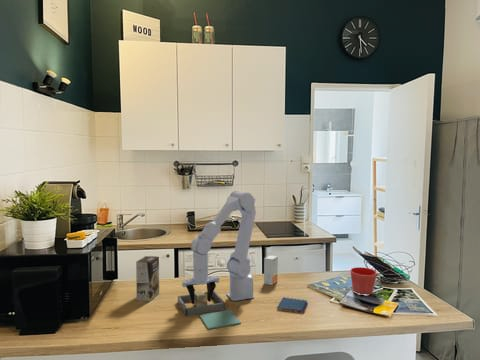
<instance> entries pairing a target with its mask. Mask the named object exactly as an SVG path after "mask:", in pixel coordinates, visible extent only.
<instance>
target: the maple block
mask: <svg viewBox="0 0 480 360" xmlns="http://www.w3.org/2000/svg"><path fill="white" fill-rule="evenodd" d="M206 292H207V291H206V290H202V291H196V292H195V293H194V294H195V300H194V301H195V304H194V305H195V306H194V307H198V306H204V305H208V300H207V294H206Z"/></svg>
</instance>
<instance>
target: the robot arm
mask: <svg viewBox="0 0 480 360" xmlns="http://www.w3.org/2000/svg"><path fill="white" fill-rule="evenodd" d="M255 203H256V198H255V197H254V196H253V195H252V193H250V192H244V191H239V190H233V191H231V193H230V194H229V195H228V197H227V198H226V201H225V203H224V205H223V206H222V208H221V209H220V211H219V212H218V214H217V216H216V217H215V218H214V220H212V221H209V222H207V223H205V224H204V228H203V229H202V231H201V232H200V233H198V234H197V237H194V238H193V239H192V241H191V244H189V247H190V249H191V250H192V261H193V262H192V267H193V271H192V272H193V273H192V274H193V276H192V277H193V278H190V279H186V280H182V281H181V286H182V287H183V288H186V289H187V291H188V295H189V294H190V297H191V301H190V302H191V304H192V305H195V300H194V294H195V291H196V289H195V286H198V285H206V289H207V291H206V292H207V303H208V302H209V303H211V299H212V298H211V297H212V293H213V291H215V289H216V287H217V284H218V283H220V277H219V276H216V275H215V276H209V254H208V253H209V252H210V251H211V249H212V243H213V242H214V241H215V239H216V237H217V236H218V235H219V234H220V232H221V231H222V229H221V226H222V225H223V224H224V222H225V221H226V220H227V219H228V218H229V217H230V216H231V214H232V213H233V212H235V211H239V212H240V214H241V218H240V222H239V223H240V224H239V226H238V227H239V228H238V232H237V236H236V237H237V238H236V243H235V248H234V251H233V252H231V254H230V257H229V258H228V260H227V263H226V268H227V271H228V272H229V292H227V293H226V296H227V297H228V298H229V299H230V300H231V301H233V302H235V301H242V300H249V299H254V298H255V296H254V277H253V276H252V275H251V274H250V272H251V259H250V257H249V253H248V252H249V248H250V243H251V239H252V233H253V228H254V223H255V219H256V213H257V212H256V207H255Z"/></svg>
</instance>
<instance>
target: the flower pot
mask: <svg viewBox="0 0 480 360" xmlns="http://www.w3.org/2000/svg"><path fill="white" fill-rule="evenodd" d="M350 278H351V286H352V287H351V288H352V292H353V291H355V292H357V293H360V294H372V295H373V292H374V290H375V289H374V288H375V283H376V280H377V271H376V270H374V269H372V268H369V267H359V266H357V267H352V268H351V269H350Z"/></svg>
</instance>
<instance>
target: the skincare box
mask: <svg viewBox="0 0 480 360" xmlns="http://www.w3.org/2000/svg"><path fill="white" fill-rule="evenodd" d="M278 265H279V260H278V256H277V255H267V256H266V257H264V258H263V284H265V285H269V286H273V285H274V284H275V283H277V282H278V275H279V273H278V267H279V266H278Z"/></svg>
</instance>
